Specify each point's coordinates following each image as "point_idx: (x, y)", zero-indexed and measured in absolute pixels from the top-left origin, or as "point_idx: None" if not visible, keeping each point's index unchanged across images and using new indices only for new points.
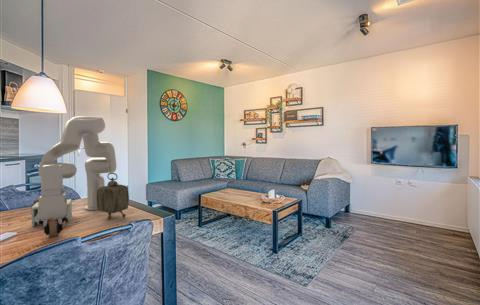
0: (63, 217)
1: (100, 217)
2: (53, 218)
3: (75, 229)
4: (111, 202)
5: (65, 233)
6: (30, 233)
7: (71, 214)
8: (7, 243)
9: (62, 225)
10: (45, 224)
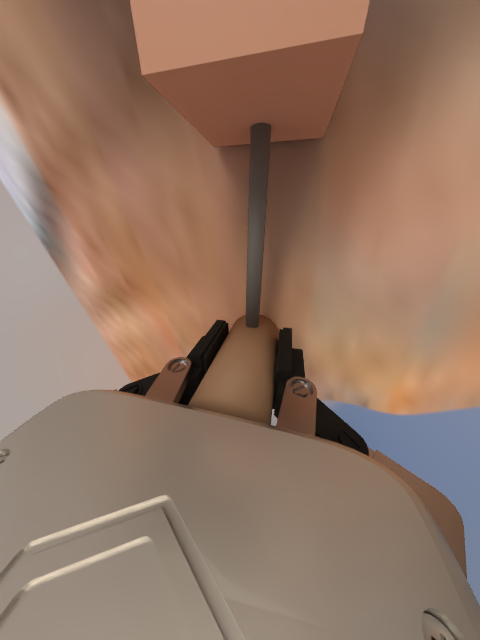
0: (353, 42)
1: None
2: (181, 74)
3: (401, 272)
4: None
5: (317, 327)
6: (108, 189)
7: (456, 530)
8: (95, 315)
9: (311, 128)
10: (187, 405)
